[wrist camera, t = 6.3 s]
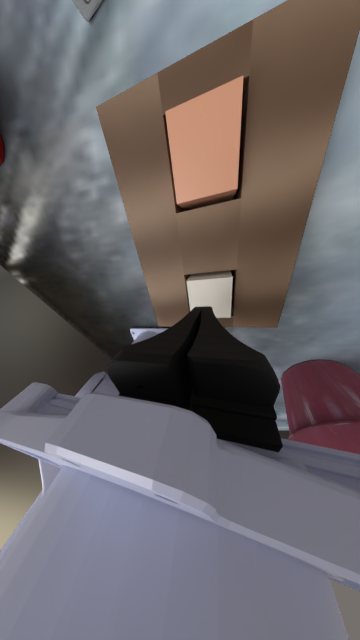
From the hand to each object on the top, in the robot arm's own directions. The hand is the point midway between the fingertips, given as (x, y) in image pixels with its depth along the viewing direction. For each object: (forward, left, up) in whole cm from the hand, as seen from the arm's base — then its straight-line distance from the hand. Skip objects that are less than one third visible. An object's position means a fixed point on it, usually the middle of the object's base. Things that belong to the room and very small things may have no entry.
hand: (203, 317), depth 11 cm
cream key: (0, 0, -7) cm, 7 cm away
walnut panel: (+5, 0, -8) cm, 10 cm away
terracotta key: (+10, 0, -7) cm, 12 cm away
